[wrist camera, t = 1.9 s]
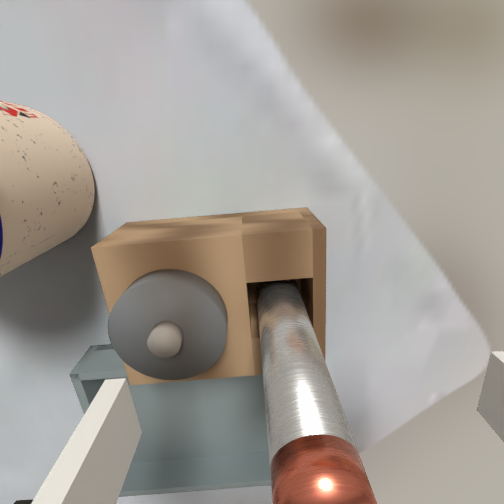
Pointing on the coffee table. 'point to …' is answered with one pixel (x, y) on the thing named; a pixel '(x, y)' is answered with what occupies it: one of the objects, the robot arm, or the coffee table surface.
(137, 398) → the tray
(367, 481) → the pin
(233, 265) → the tan wooden block
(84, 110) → the coffee table surface
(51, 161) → the teacup with lid
